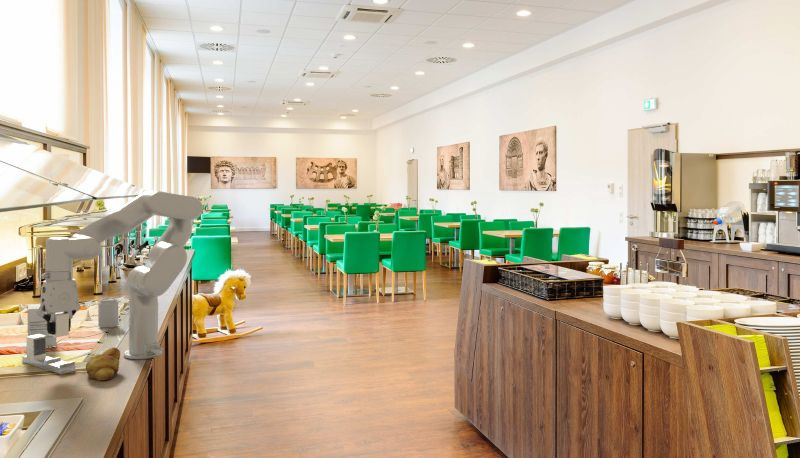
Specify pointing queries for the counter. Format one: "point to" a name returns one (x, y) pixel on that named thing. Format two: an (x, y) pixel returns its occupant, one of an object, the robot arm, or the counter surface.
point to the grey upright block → (108, 313)
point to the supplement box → (38, 325)
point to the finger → (61, 324)
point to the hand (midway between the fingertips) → (59, 331)
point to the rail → (44, 356)
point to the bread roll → (104, 364)
